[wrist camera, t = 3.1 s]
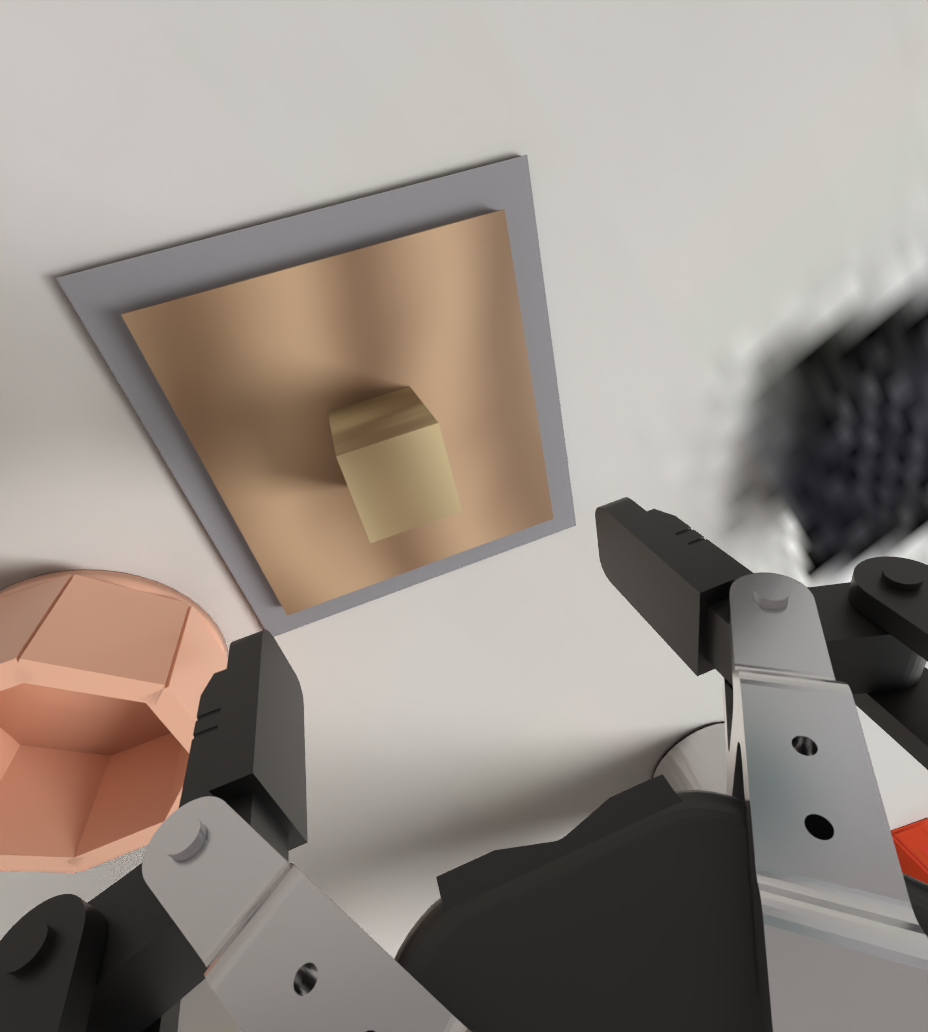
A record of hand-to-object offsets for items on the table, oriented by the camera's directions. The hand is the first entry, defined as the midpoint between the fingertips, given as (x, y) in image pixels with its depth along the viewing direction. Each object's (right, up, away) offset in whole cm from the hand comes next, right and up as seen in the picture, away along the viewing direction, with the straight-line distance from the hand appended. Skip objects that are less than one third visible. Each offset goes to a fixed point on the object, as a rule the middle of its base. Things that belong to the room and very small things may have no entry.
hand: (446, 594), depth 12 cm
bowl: (-17, -5, +12) cm, 22 cm away
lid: (-3, +6, +10) cm, 12 cm away
